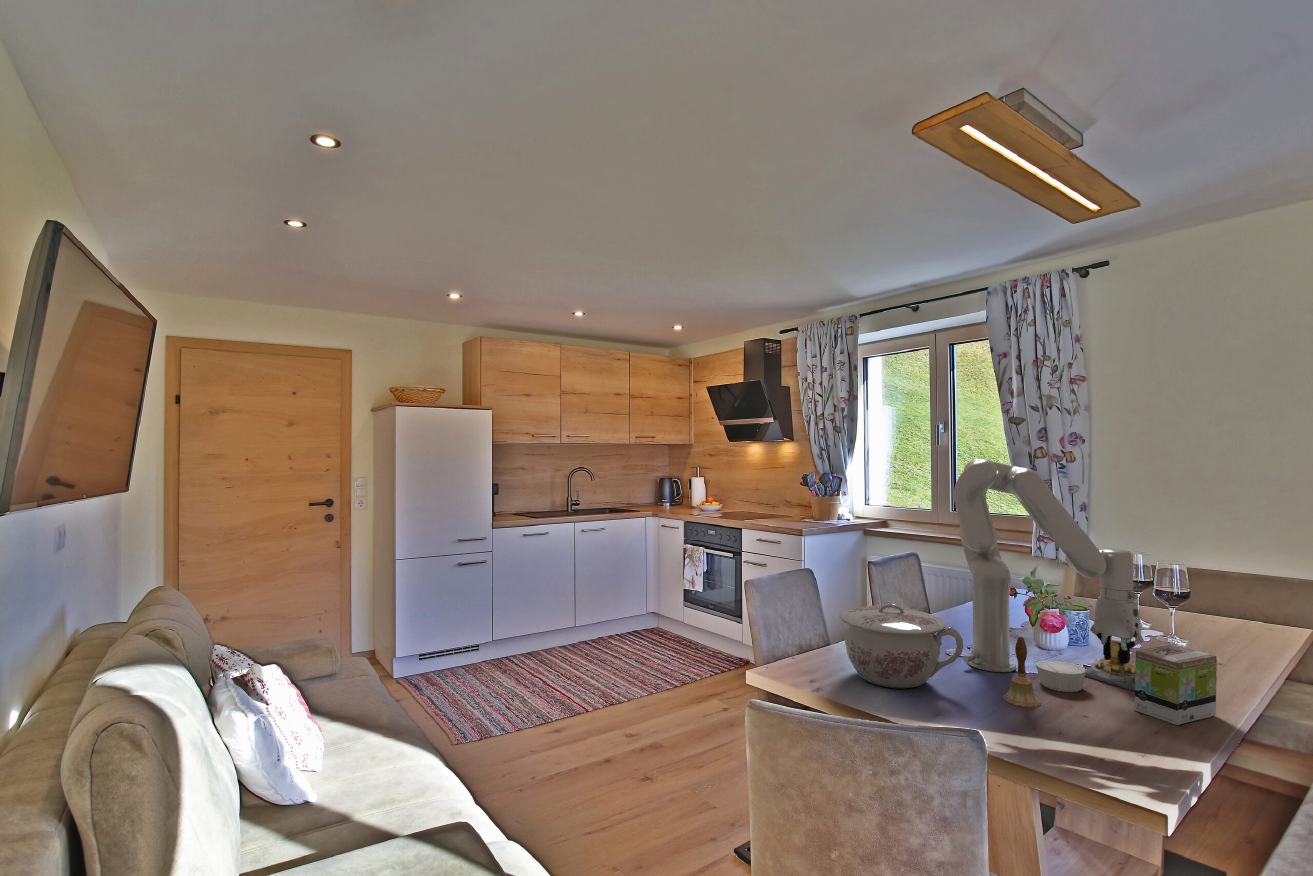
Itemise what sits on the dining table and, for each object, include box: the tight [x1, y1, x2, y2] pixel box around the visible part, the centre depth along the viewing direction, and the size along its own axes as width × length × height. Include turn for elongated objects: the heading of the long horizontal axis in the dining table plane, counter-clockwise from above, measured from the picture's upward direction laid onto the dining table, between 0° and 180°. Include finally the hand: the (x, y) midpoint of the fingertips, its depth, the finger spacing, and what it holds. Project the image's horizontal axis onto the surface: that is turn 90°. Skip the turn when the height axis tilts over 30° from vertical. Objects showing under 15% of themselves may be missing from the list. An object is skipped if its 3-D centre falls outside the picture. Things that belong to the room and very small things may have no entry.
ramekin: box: [1035, 659, 1086, 693], centre depth 175 cm, size 11×11×5 cm
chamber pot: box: [839, 603, 964, 690], centre depth 179 cm, size 28×28×21 cm
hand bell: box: [1002, 636, 1042, 709], centre depth 165 cm, size 8×8×16 cm
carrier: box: [1084, 661, 1135, 692], centre depth 178 cm, size 12×17×5 cm
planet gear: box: [1098, 639, 1136, 674], centre depth 181 cm, size 8×8×7 cm
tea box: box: [1133, 643, 1218, 726], centre depth 157 cm, size 15×10×15 cm, turn 114°
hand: (1116, 660), depth 181 cm, fingers closed on planet gear, 3 cm apart
